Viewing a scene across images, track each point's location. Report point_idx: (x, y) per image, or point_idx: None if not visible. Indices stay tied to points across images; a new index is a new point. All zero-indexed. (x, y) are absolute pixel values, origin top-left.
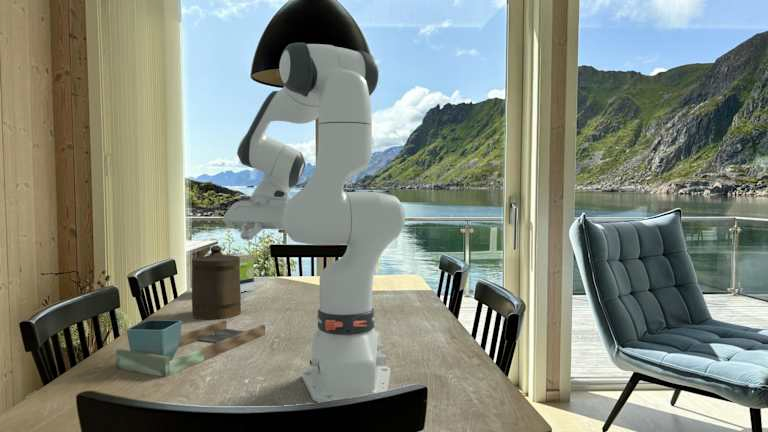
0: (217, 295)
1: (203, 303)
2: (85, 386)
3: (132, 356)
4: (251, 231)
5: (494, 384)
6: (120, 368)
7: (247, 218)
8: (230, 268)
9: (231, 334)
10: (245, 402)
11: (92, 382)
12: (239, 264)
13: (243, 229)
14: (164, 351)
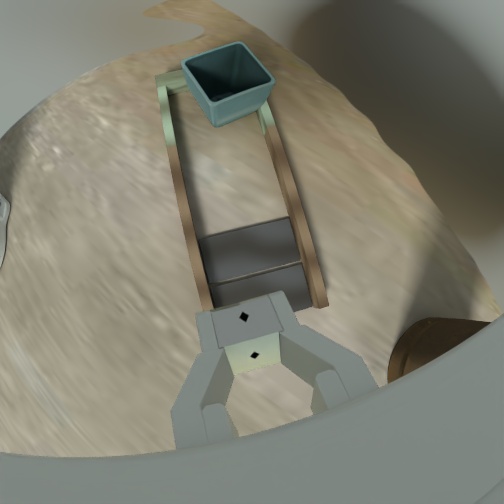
0: (426, 352)
1: (434, 326)
2: (216, 38)
3: None
4: (202, 349)
5: None
6: None
7: (354, 428)
8: None
9: (264, 284)
10: (26, 118)
11: (222, 44)
12: None
13: (305, 336)
14: (189, 89)
